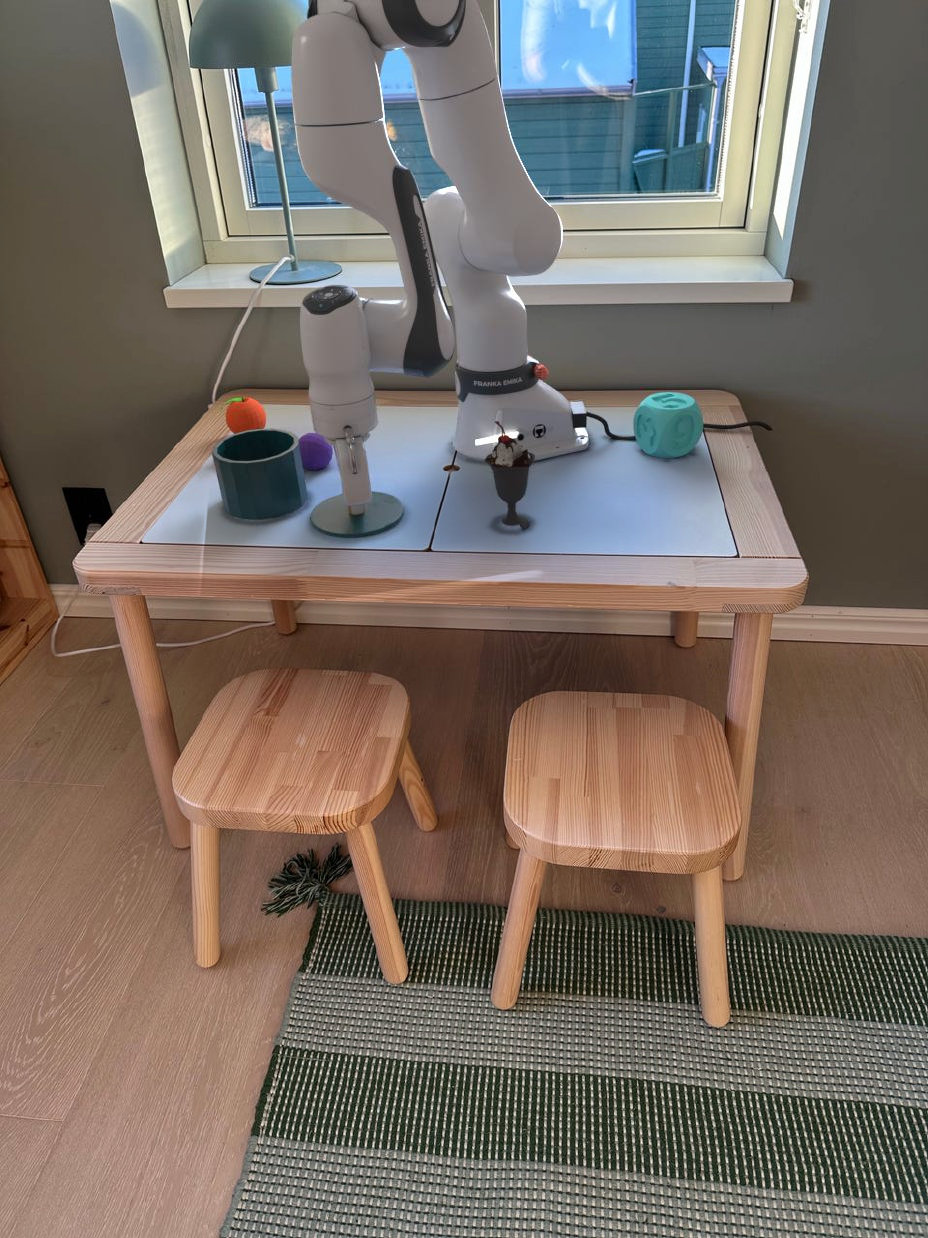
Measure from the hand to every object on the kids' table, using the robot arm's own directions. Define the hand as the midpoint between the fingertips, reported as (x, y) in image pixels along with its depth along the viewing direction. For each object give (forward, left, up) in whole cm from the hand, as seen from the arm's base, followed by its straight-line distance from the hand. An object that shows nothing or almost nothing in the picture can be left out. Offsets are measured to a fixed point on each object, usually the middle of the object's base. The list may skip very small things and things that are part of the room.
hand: (356, 505), depth 132 cm
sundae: (-21, +8, -2) cm, 23 cm away
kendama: (+11, -23, -2) cm, 26 cm away
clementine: (+16, -37, -2) cm, 40 cm away
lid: (0, 0, -2) cm, 2 cm away
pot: (+13, -9, -2) cm, 16 cm away
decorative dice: (-51, -10, -2) cm, 52 cm away
